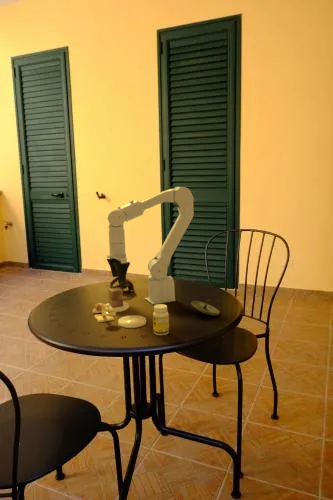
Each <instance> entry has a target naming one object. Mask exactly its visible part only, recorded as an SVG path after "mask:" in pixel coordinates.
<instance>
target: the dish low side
mask: <svg viewBox="0 0 333 500" xmlns="http://www.w3.org/2000/svg"><path fill="white" fill-rule="evenodd" d="M105 304H106V305H109V302H108V303H105ZM129 309H130V304H129V303H128V302H125V301H123V306H122V307H115V308H112V307H111V306H110V307H109V310H114V311H116V313H122V312H125V311H127V310H129ZM106 310H108V308H107V307H105V311H106Z"/></svg>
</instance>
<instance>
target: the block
mask: <svg viewBox="0 0 333 500" xmlns="http://www.w3.org/2000/svg"><path fill="white" fill-rule="evenodd" d="M123 292H124V291H122V289H120V288H112V289H110V288H108V303H109V305H110V306H111V307H112V308H115V307H122V306H123V302H124V299H123V298H124V295H123Z"/></svg>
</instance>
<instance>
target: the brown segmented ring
mask: <svg viewBox="0 0 333 500" xmlns="http://www.w3.org/2000/svg"><path fill="white" fill-rule="evenodd" d="M116 283H118V284H117V285H114V284H116ZM112 288H120V289H122V291H123V292H124V291H125V290H126V289H127V291H129V292H131V291H133V294H136V289H135V286H134V284H133V282H132V280H130V279H129V278H128V277H126V279H125V281H122V282H119V279H118V277H114V278H113V280H112V281H110V284H109V289H112Z"/></svg>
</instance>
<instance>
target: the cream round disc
mask: <svg viewBox="0 0 333 500" xmlns="http://www.w3.org/2000/svg"><path fill="white" fill-rule="evenodd" d="M117 321H118V322H117V324H118V326H120V327H121V328H126V329H135V328H141V327H143V326H145V325H146V324H147V318H146V317H145V316H143V315H138V314H137V315H135V314H133V315H126V316H122V317H120V318H119V319H117Z"/></svg>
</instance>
